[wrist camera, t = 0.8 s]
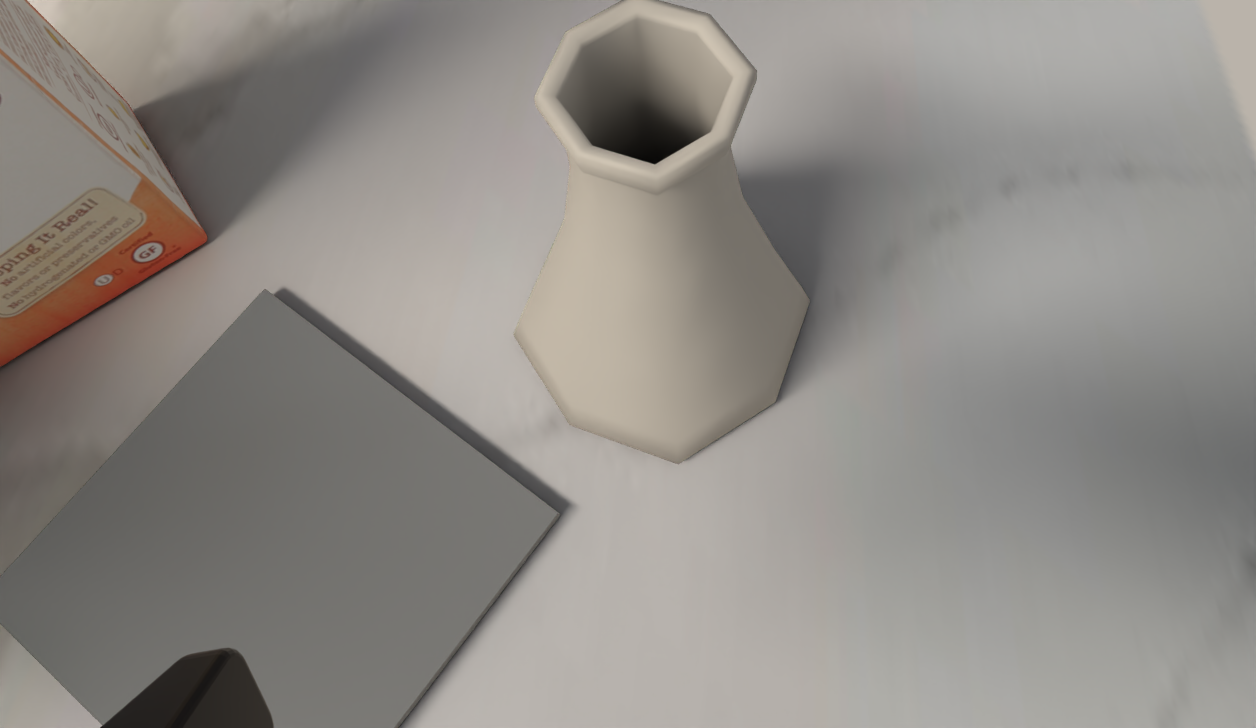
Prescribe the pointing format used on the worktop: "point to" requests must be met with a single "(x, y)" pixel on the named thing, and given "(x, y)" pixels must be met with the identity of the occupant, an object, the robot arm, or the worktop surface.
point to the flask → (656, 239)
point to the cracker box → (73, 188)
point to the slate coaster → (276, 538)
